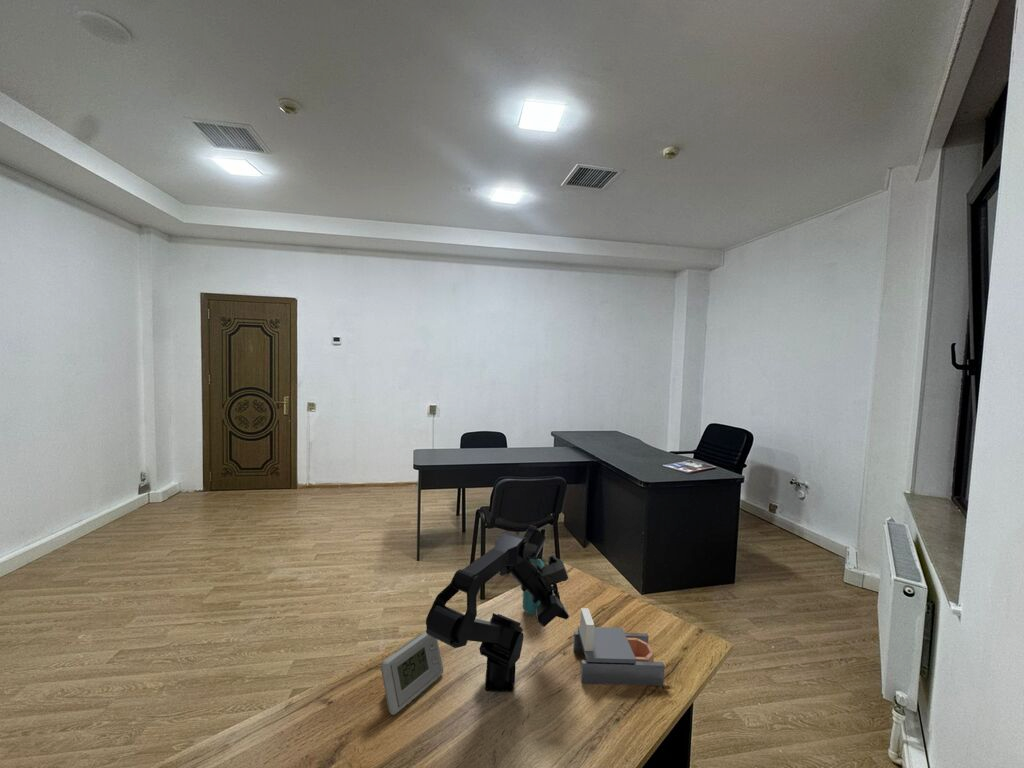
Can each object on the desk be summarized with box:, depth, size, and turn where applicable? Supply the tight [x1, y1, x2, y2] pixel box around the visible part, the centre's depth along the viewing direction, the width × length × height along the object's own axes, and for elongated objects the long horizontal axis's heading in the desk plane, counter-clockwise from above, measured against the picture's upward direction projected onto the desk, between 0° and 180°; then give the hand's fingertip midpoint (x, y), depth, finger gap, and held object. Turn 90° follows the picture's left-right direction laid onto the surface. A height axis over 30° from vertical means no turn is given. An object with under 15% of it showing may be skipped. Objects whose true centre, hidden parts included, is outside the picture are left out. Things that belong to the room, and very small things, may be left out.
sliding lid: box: [577, 607, 636, 663], centre depth 104 cm, size 12×12×8 cm
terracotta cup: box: [627, 638, 655, 662], centre depth 105 cm, size 8×8×5 cm
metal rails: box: [572, 630, 666, 687], centre depth 105 cm, size 20×12×5 cm, turn 91°
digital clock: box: [380, 630, 444, 716], centre depth 95 cm, size 16×9×11 cm, turn 135°
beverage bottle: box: [521, 549, 545, 615], centre depth 126 cm, size 6×7×20 cm
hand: (567, 617), depth 104 cm, fingers closed
